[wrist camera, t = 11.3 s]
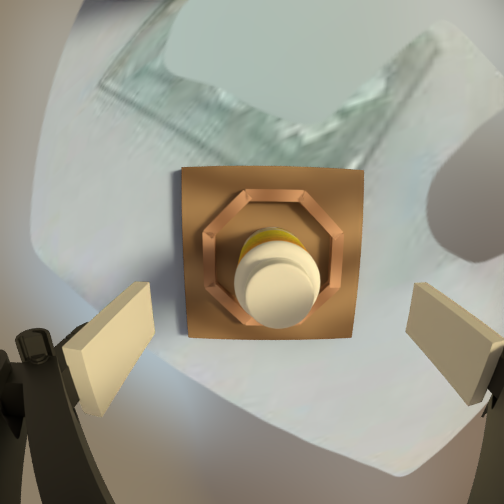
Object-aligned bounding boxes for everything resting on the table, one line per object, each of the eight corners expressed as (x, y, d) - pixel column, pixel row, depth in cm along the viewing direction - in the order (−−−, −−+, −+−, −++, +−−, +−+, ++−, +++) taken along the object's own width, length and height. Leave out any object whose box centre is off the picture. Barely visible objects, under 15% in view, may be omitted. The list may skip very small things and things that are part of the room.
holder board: (184, 168, 27) (178, 166, 25) (359, 171, 27) (367, 169, 24) (191, 332, 30) (186, 342, 28) (348, 332, 30) (354, 342, 28)
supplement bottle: (229, 243, 27) (212, 274, 17) (287, 215, 26) (305, 231, 16) (257, 297, 28) (256, 355, 18) (313, 271, 27) (342, 317, 17)
